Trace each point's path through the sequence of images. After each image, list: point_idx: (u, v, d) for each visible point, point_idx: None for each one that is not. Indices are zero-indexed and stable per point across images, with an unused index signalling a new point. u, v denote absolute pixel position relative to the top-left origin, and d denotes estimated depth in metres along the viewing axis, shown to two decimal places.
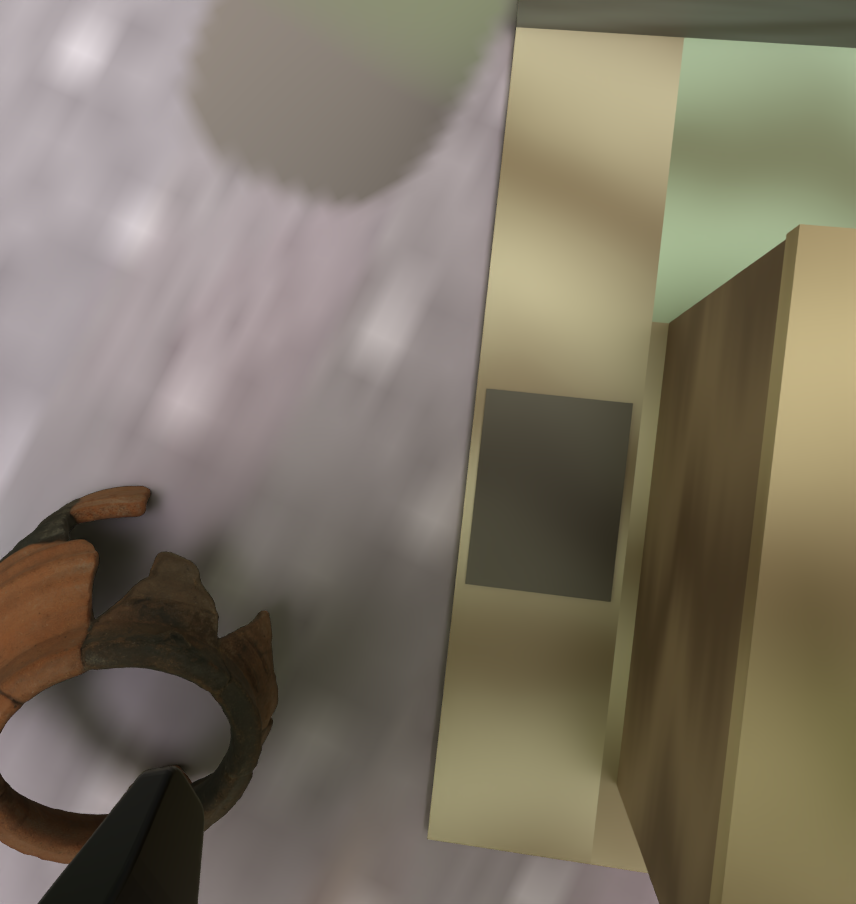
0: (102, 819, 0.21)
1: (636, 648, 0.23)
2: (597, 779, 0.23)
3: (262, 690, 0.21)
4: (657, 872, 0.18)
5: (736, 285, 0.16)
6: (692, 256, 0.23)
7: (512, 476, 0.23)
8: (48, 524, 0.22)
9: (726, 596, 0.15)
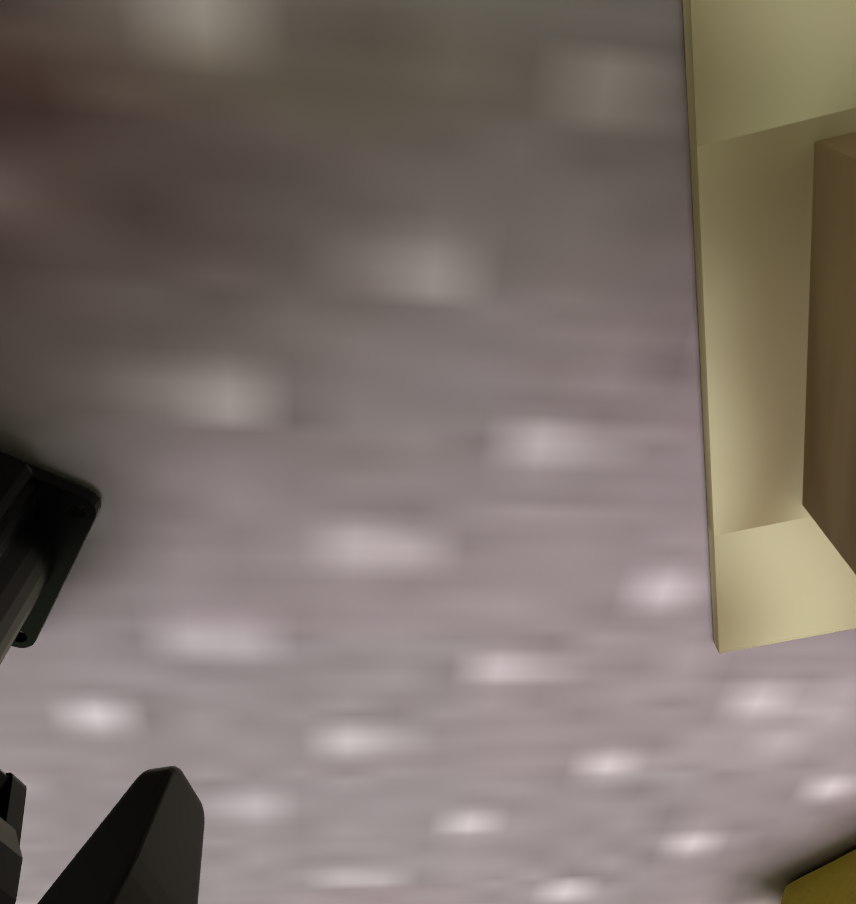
0: None
1: None
2: (820, 112, 0.16)
3: None
4: None
5: None
6: None
7: None
8: None
9: None
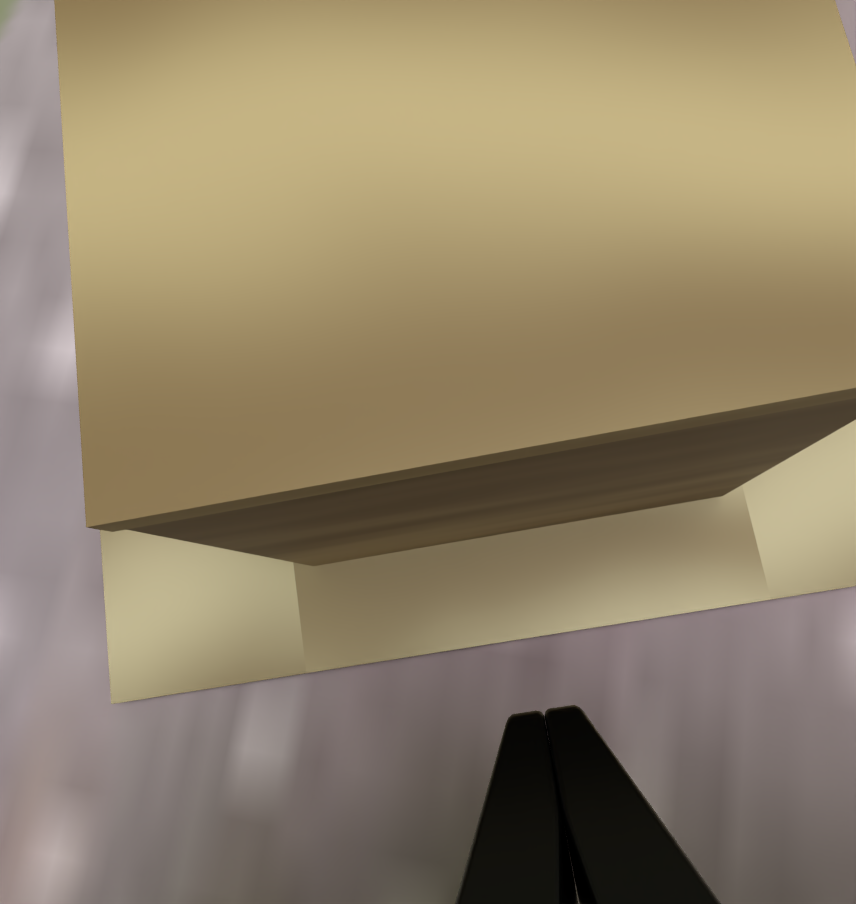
0: None
1: None
2: (290, 566, 0.19)
3: None
4: None
5: None
6: None
7: None
8: None
9: None
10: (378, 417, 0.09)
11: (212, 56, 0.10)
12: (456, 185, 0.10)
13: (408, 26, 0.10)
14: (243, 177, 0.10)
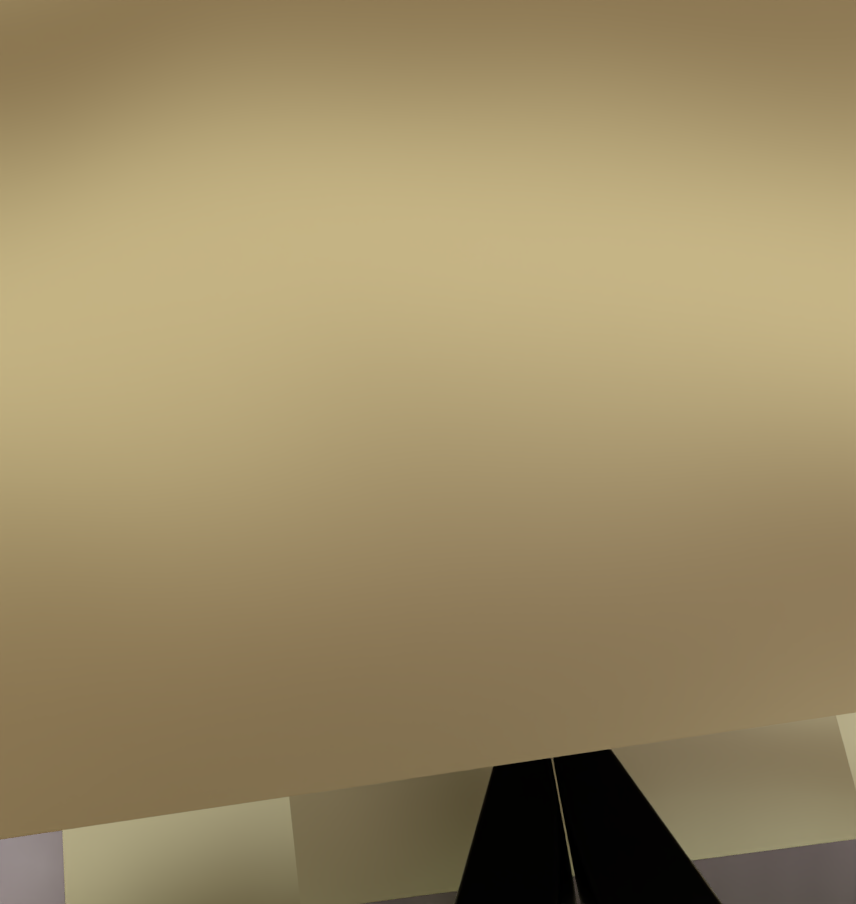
0: None
1: None
2: None
3: None
4: None
5: None
6: None
7: None
8: None
9: None
10: (381, 693, 0.06)
11: (158, 160, 0.08)
12: (490, 348, 0.07)
13: (421, 121, 0.07)
14: (195, 330, 0.07)
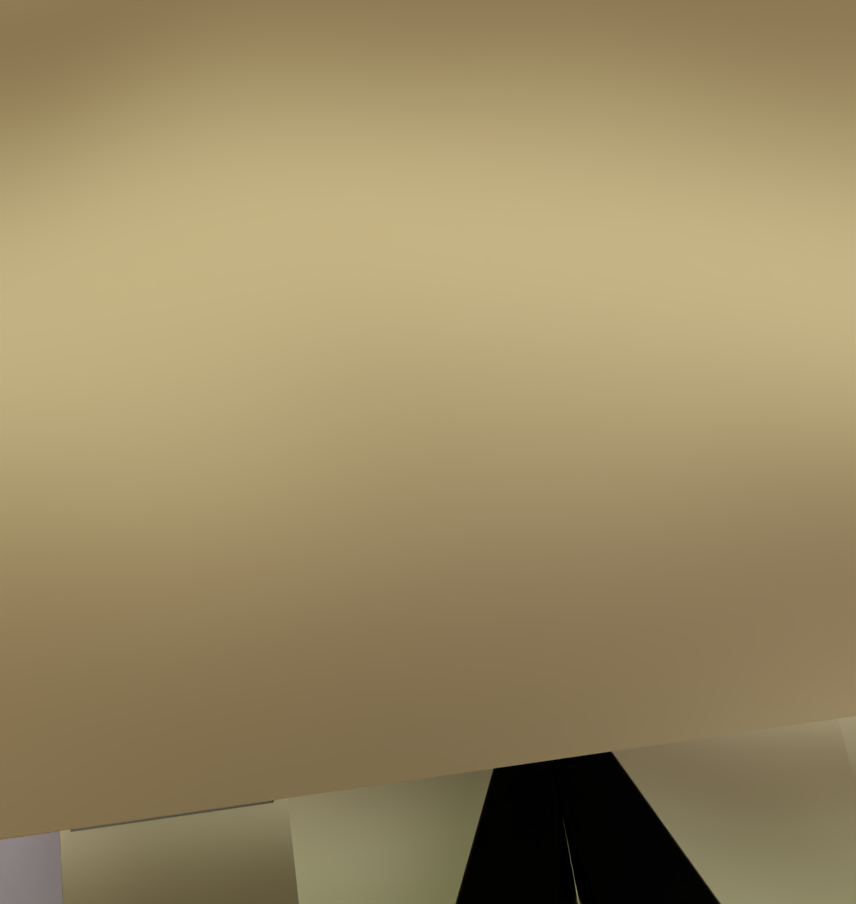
0: None
1: None
2: None
3: None
4: None
5: None
6: None
7: None
8: None
9: None
10: (380, 694, 0.06)
11: (154, 153, 0.08)
12: (492, 344, 0.07)
13: (422, 112, 0.07)
14: (192, 324, 0.07)
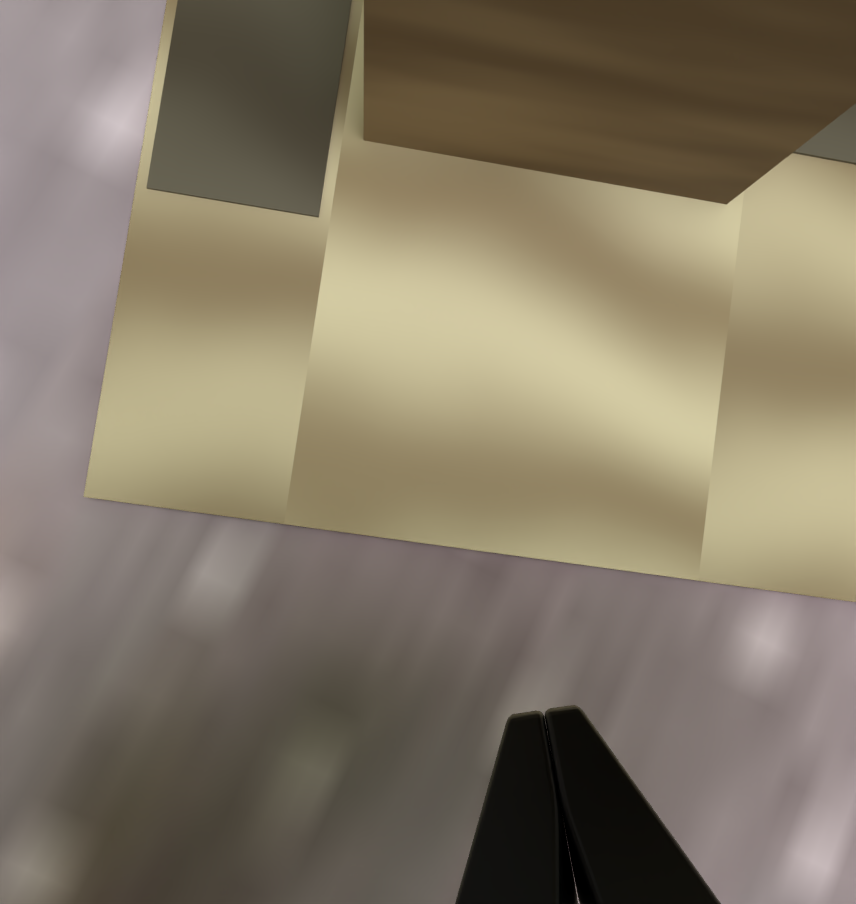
0: None
1: None
2: (296, 423, 0.20)
3: None
4: None
5: None
6: None
7: (209, 65, 0.20)
8: None
9: None
10: None
11: None
12: None
13: None
14: None
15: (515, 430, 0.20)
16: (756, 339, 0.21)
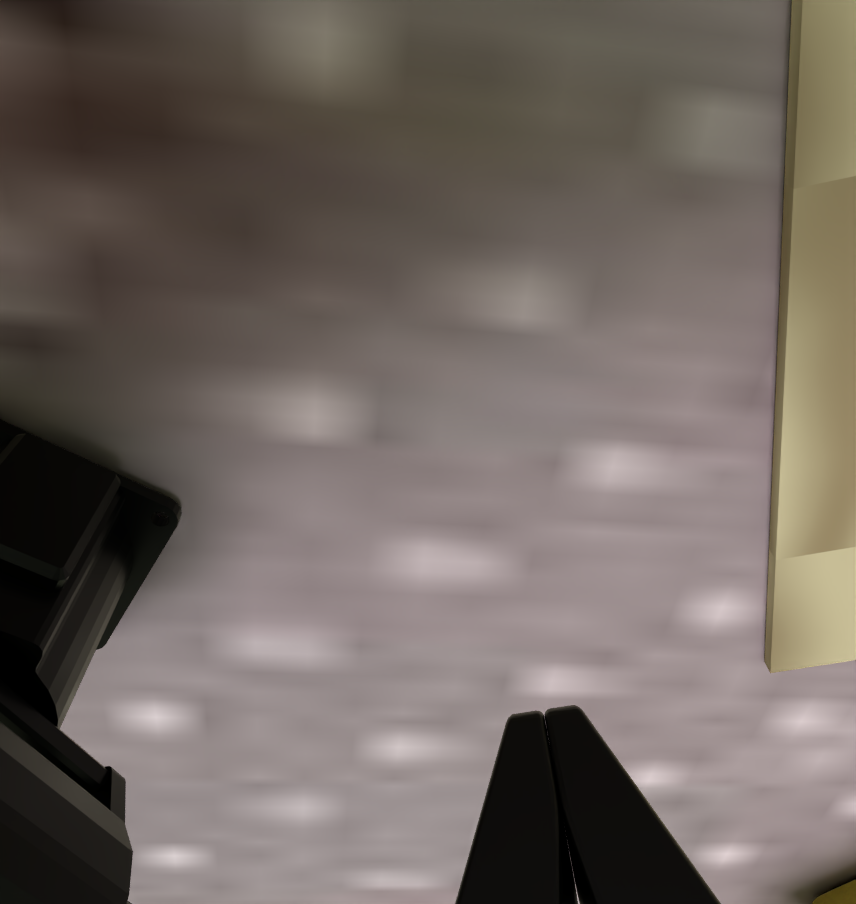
0: None
1: None
2: None
3: None
4: None
5: None
6: None
7: None
8: None
9: None
10: None
11: None
12: None
13: None
14: None
15: None
16: None
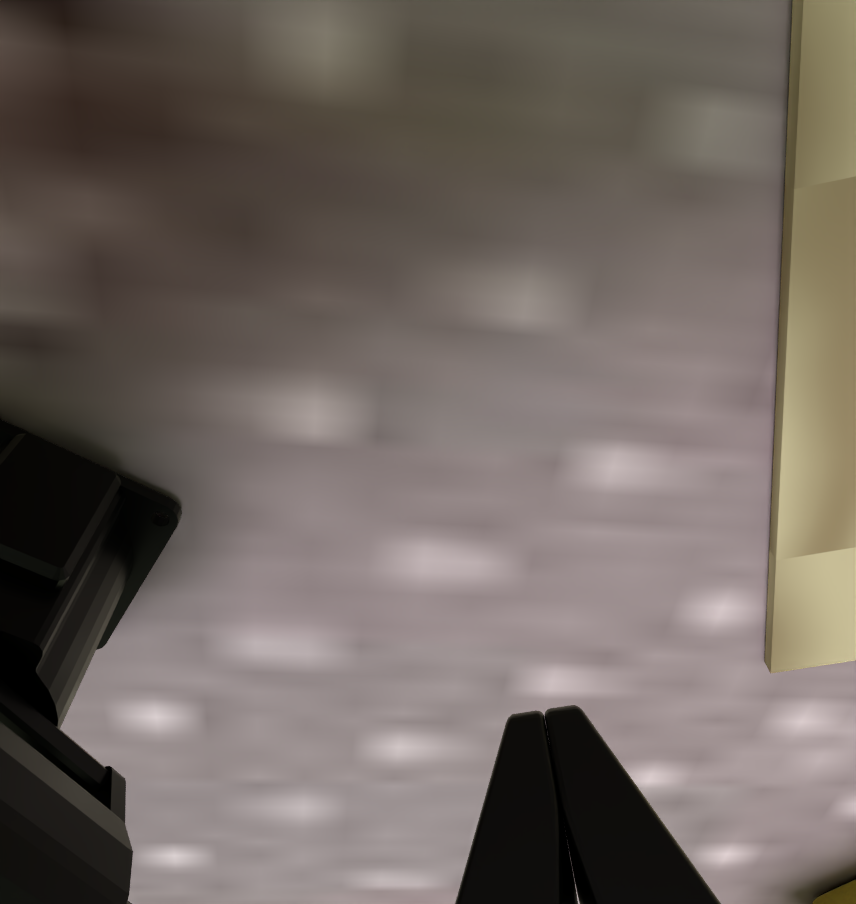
0: None
1: None
2: None
3: None
4: None
5: None
6: None
7: None
8: None
9: None
10: None
11: None
12: None
13: None
14: None
15: None
16: None
